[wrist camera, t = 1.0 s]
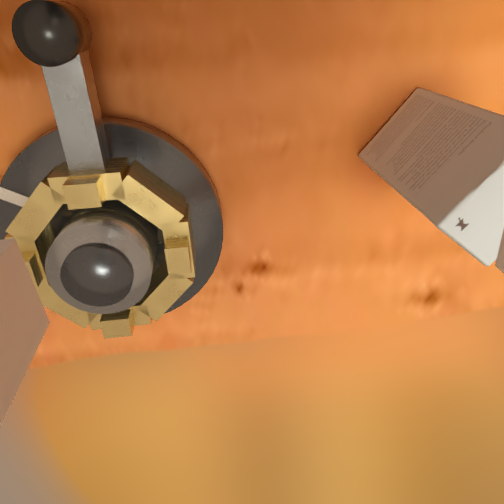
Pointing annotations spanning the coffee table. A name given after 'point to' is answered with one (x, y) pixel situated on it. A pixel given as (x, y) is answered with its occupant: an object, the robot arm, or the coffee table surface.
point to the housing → (116, 220)
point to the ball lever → (92, 172)
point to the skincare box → (446, 167)
